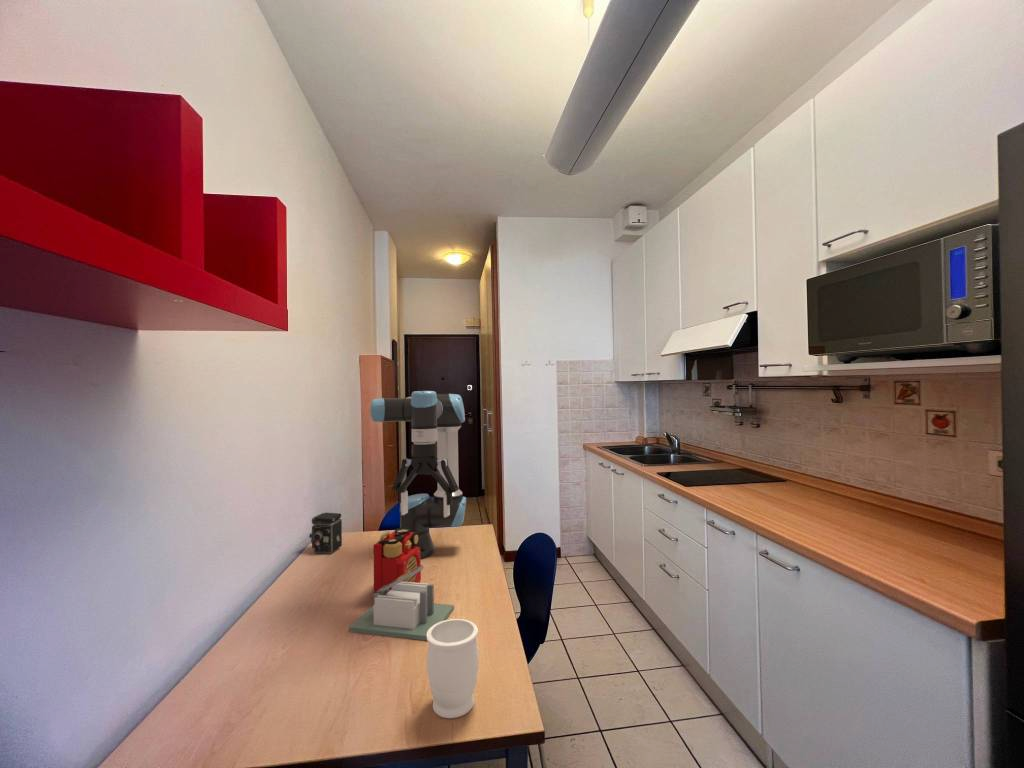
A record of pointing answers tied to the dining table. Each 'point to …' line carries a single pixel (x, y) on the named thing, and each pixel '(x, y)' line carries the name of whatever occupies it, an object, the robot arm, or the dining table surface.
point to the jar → (452, 666)
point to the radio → (396, 557)
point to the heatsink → (403, 612)
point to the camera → (326, 532)
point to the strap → (400, 579)
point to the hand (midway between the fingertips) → (425, 515)
